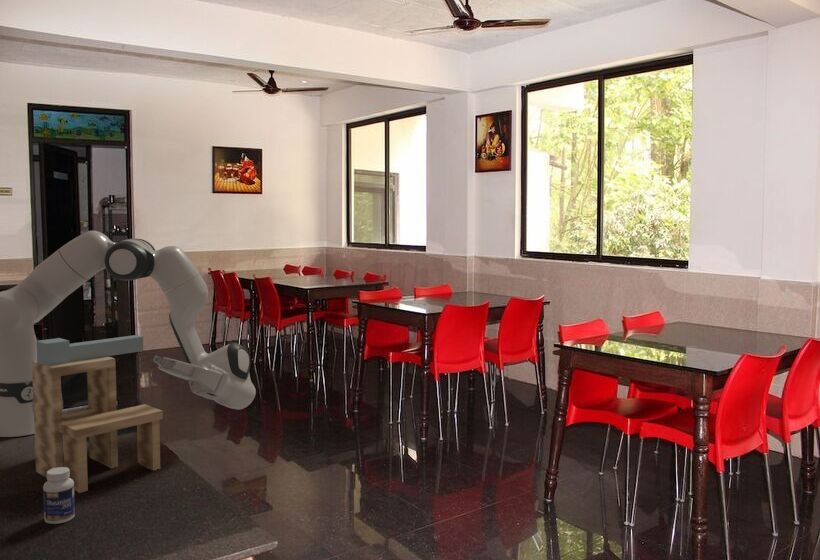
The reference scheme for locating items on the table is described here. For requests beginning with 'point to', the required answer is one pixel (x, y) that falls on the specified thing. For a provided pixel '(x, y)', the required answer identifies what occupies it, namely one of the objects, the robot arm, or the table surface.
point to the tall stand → (51, 415)
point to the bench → (108, 422)
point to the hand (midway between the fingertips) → (165, 361)
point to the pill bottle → (58, 496)
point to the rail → (85, 349)
